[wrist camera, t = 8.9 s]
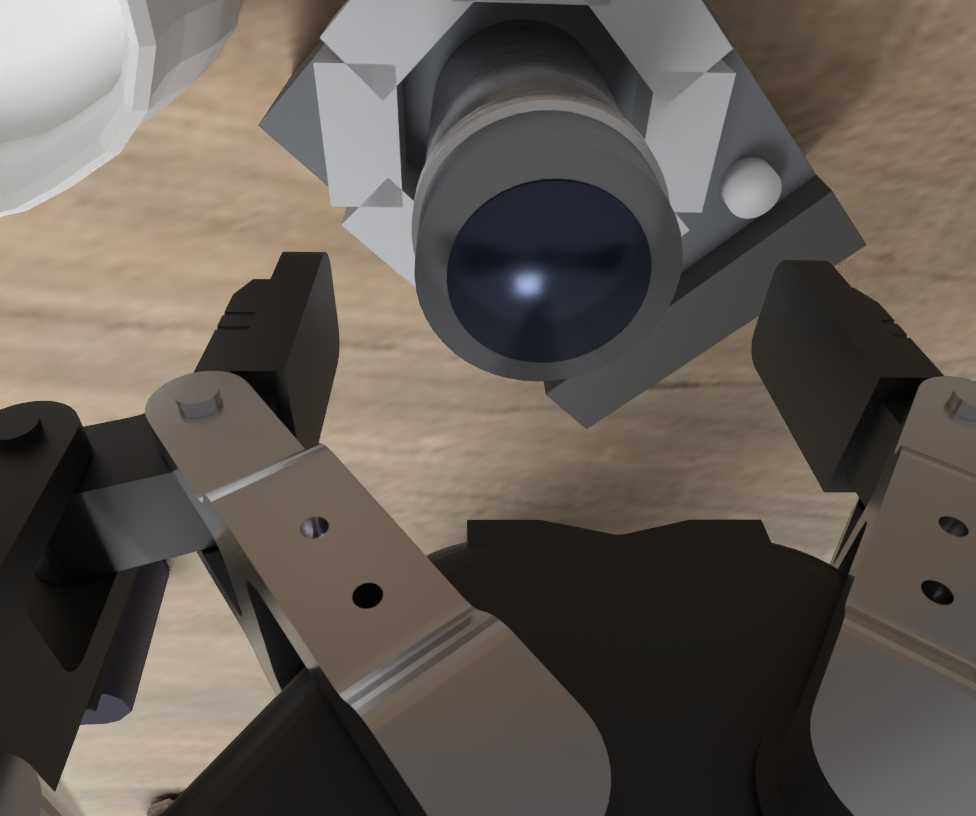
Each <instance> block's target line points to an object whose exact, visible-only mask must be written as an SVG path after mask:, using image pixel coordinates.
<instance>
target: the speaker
mask: <svg viewBox="0 0 976 816" xmlns="http://www.w3.org/2000/svg"><path fill="white" fill-rule="evenodd" d="M168 577H169V571H168V570H167V568H166V566H165V564H164V562H163V560H160V561H156V562H152V563H149V564H145V565H141V566H139V567H138V570H137V572H136V575H135V578H134V581H133V583H132V586H131V589H130V591H129V594H128V597H127V599H126V602H125V605H124V608H123V610H122V613H121V616H120V618H119V621H118V624H117V626H116V629H115V632H114V634H113V637H112V640H111V643H110V645H109V648H108V651H107V653H106V656H105V659H104V661H103V664H102V667H101V669H100V672H99V675H98V678H97V680H96V683H95V686H94V688H93V691H92V694H91V696H90V699H89V702H88V705H87V707H86V710H85V713H84V715H83V718H82V721H81V723H80V725H85V724H106V723H110V722H115V721H119V720H121V719H122V718H123V717H125V716H126V715H127V714H129V713H130V712H131V711H132V709H133V705H134V702H135V698H136V694H137V691H138V687H139V683H140V680H141V676H142V672H143V669H144V665H145V661H146V658H147V654H148V650H149V647H150V643H151V639H152V636H153V632H154V628H155V625H156V621H157V617H158V613H159V610H160V606H161V602H162V599H163V595H164V591H165V588H166V584H167V580H168Z"/></svg>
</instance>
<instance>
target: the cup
mask: <svg viewBox="0 0 976 816" xmlns="http://www.w3.org/2000/svg"><path fill="white" fill-rule="evenodd" d="M240 4H241V0H0V217H1V216H6V215H10V214H15V213H20V212H24V211H27V210H29V209H31V208H33V207H35V206H37V205H39V204H40V203H42V202H44V201H46V200H48V199H50V198H52V197H54V196H55V195H57V194H59V193H61V192H63V191H65V190H67V189H69V188H70V187H71V186H73V185H74V184H76V183H77V182H79V181H80V180H82V179H83V178H85V177H86V176H87V175H89V174H90V173H92V172H93V171H95V170H96V169H98V168H99V167H101V166H102V165H103V164H105V163H106V162H108V161H109V160H111V159H112V158H114V157H115V156H117V155H118V154H119V153H121V151H122V149H123V148H124V146H125V145H126V143H127V142H128V140H129V139H130V137H131V136H132V134H133V133H134V131H135V130H136V128H137V127H138V126H139V125H140V124H142V123H144V122H146V121H147V120H149V119H151V118H152V117H154V116H156V115H157V114H158V113H159V112H161V111H162V110H163V109H164V108H165V107H166V106H167V105H169V104H170V103H171V102H172V101H173V100H174V99H175V98H176V97H178V96H179V95H180V94H181V93H182V92H183V91H184V90H186V89H187V88H188V87H189V86H190V85H191V84H192V83H193V82H195V81H196V80H197V79H198V78H199V77H200V76H201V75H202V74H203V73H204V72H205V71H206V70H207V69H208V68H209V67H210V66H211V65H212V64H213V63H214V62H215V61H216V60H217V58H218V56H219V55H220V53H221V51H222V50H223V48H224V46H225V45H226V43H227V41H228V39H229V38H230V36H231V34H232V33H233V31H234V29H235V28H236V26H237V22H238V16H239V10H240Z"/></svg>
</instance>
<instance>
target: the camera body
mask: <svg viewBox="0 0 976 816" xmlns="http://www.w3.org/2000/svg"><path fill="white" fill-rule="evenodd" d="M518 19H528V20H537V21H541V22H545V23H549V24H551V25H553V26H556V27H558V28H560V29H562V30H564V31H565V32H567V33H569V34H570V35H571V36H573V37H574V38H575V39H576V40H577V41H579V42H580V43H581V44H582V45H583V47H584V48H585V49H586V50H587V51H588V52H589V54H590V55H591V57H592V58H593V60H594V61H595V63H596V65H597V67H598V69H599V71H600V73H601V75H602V76H603V78H604V80H605V82H606V84H607V86H608V88H609V90H610V91H611V93H612V95H613V97H614V99H615V101H616V103H617V105H618V107H619V108H620V110H621V112H622V114H623V116H624V118H625V119H627V120H628V121H629V122H630V123H631V124H632V125H633V126H634V127H635V129H636V130H637V131H638V132H639V133H640V134H641V136H642V137H643V139H644V140H645V142H646V143H647V145H648V146H649V148H650V149H651V151H652V153H653V155H654V157H655V158H656V160H657V162H658V164H659V167H660V169H661V171H662V173H663V175H664V178H665V182H666V185H667V188H668V193H669V200H670V205H671V207H672V209H673V211H674V213H675V215H676V218H677V221H678V225H679V228H680V231H681V238H682V246H683V258H682V269H681V275H680V280H679V283H678V286H677V289H676V292H675V295H674V297H673V299H672V301H671V304H670V306H669V308H668V309H667V311H666V313H665V314H664V316H663V317H662V319H661V320H660V322H659V323H658V324H657V326H656V327H655V328H654V329H653V330H652V332H651V333H650V334H649V335H648V336H647V337H646V338H645V339H644V340H643V341H642V342H641V343H640V344H639V345H637V346H636V347H635V348H633V349H632V350H631V351H630V352H628V353H627V354H626V355H624V356H622V357H621V358H619V359H617V360H616V361H614V362H613V363H610V364H608V365H606V366H604V367H602V368H600V369H598V370H595V371H592V372H590V373H587V374H584V375H580V376H576V377H572V378H568V379H561V380H554V381H544V385H545V392H546V395H547V396H548V397H550V398H551V399H552V400H553V401H554V402H556V403H557V404H558V405H559V406H560V407H561V408H563V409H564V410H565V411H566V412H567V413H568V414H570V415H571V416H572V417H573V418H574V419H575V420H577V421H578V422H579V423H580V424H581V425H582V426H584V427H585V428H586V429H587V428H589V427H590V426H592V425H593V424H595V423H596V422H598V421H599V420H601V419H603V418H604V417H606V416H607V415H609V414H610V413H612V412H613V411H615V410H616V409H618V408H619V407H621V406H622V405H624V404H625V403H627V402H628V401H630V400H631V399H633V398H634V397H636V396H637V395H639V394H641V393H642V392H644V391H645V390H647V389H648V388H650V387H651V386H653V385H654V384H656V383H657V382H659V381H660V380H662V379H663V378H665V377H666V376H668V375H669V374H671V373H672V372H674V371H675V370H677V369H679V368H680V367H682V366H683V365H685V364H686V363H688V362H689V361H691V360H692V359H694V358H695V357H697V356H698V355H700V354H701V353H703V352H704V351H706V350H707V349H709V348H710V347H712V346H713V345H715V344H717V343H718V342H720V341H721V340H723V339H724V338H726V337H727V336H729V335H730V334H732V333H733V332H735V331H736V330H738V329H739V328H741V327H742V326H744V325H745V324H747V323H748V322H750V321H751V320H753V319H755V318H756V317H758V316H759V315H760V313H761V310H762V307H763V303H764V300H765V297H766V294H767V291H768V288H769V285H770V282H771V279H772V276H773V273H774V271H775V269H776V267H777V266H778V264H779V263H780V262H781V261H783V260H824V261H828V262H830V263H831V264H832V265H833V266H835V265H837V264H838V263H840V262H841V261H843V260H844V259H846V258H847V257H849V256H850V255H852V254H853V253H855V252H856V251H858V250H859V249H861V248H862V247H864V246H865V245H866V243H865V242H864V240H863V239H862V237H861V236H860V234H859V232H858V231H857V229H856V228H855V226H854V225H853V223H852V221H851V220H850V218H849V217H848V215H847V213H846V212H845V210H844V209H843V207H842V206H841V204H840V202H839V201H838V199H837V198H836V196H835V195H834V193H833V191H832V190H831V189H830V188H829V187H828V186H827V185H826V184H825V183H824V182H823V181H822V180H821V179H820V178H819V177H818V176H817V175H816V174H815V172H814V170H813V169H812V167H811V166H810V164H809V163H808V161H807V160H806V158H805V156H804V155H803V153H802V152H801V150H800V149H799V147H798V145H797V144H796V142H795V141H794V139H793V138H792V136H791V135H790V133H789V131H788V130H787V128H786V127H785V125H784V124H783V122H782V120H781V119H780V117H779V116H778V114H777V113H776V111H775V110H774V108H773V106H772V105H771V103H770V102H769V100H768V99H767V97H766V95H765V94H764V92H763V91H762V89H761V88H760V86H759V84H758V83H757V81H756V80H755V78H754V77H753V75H752V74H751V72H750V70H749V69H748V67H747V66H746V64H745V63H744V61H743V59H742V58H741V56H740V55H739V53H738V52H737V50H736V49H735V47H734V45H733V44H732V42H731V41H730V39H729V38H728V36H727V34H726V33H725V31H724V30H723V28H722V27H721V25H720V24H719V22H718V20H717V19H716V17H715V16H714V14H713V13H712V11H711V9H710V8H709V6H708V5H707V3H706V2H705V0H347V1H346V2H345V3H344V5H343V6H342V7H341V8H340V9H339V11H338V12H337V13H336V14H335V16H334V17H333V18H332V19H331V21H330V23H329V24H328V26H327V27H326V29H325V30H324V32H323V33H322V35H321V36H320V39H321V40H320V41H319V42H318V44H317V45H316V46H315V47H314V49H313V50H312V51H311V52H310V53H309V55H308V56H307V57H306V58H305V60H304V61H303V62H302V63H301V64H300V66H299V67H298V68H297V69H296V71H295V72H294V73H293V74H292V76H291V77H290V79H289V80H288V82H287V83H286V85H285V86H284V88H283V89H282V91H281V92H280V94H279V95H278V97H277V98H276V100H275V101H274V103H273V104H272V106H271V107H270V109H269V110H268V112H267V113H266V115H265V116H264V118H263V119H262V121H261V122H260V124H259V125H258V126H260V127H261V128H262V129H263V130H264V131H265V132H266V133H268V134H269V135H270V136H271V137H272V138H273V139H274V140H276V141H277V142H278V143H279V144H280V145H281V146H282V147H284V148H285V149H286V150H287V151H288V152H289V153H291V154H292V155H293V156H294V157H295V158H296V159H297V160H299V161H300V162H301V163H302V164H303V165H304V166H305V167H307V168H308V169H309V170H310V171H311V172H312V173H313V174H315V175H316V176H317V177H318V178H319V179H320V180H321V181H323V182H324V183H325V184H326V185H327V186H328V187H329V194H330V202H331V206H339V207H347V208H346V211H345V215H344V218H343V221H342V226H343V227H344V228H346V229H347V230H348V231H349V232H350V233H351V234H353V235H354V236H355V237H356V238H357V239H359V240H360V241H361V242H362V243H363V244H364V245H366V246H367V247H368V248H369V249H370V250H372V251H373V252H374V253H375V254H376V255H377V256H379V257H380V258H381V259H382V260H383V261H384V262H386V263H387V264H388V265H389V266H390V267H392V268H393V269H394V270H395V271H396V272H397V273H399V274H400V275H401V276H402V277H403V278H404V279H406V280H407V281H408V282H409V283H410V284H412V285H413V286H414V287H415V288H416V284H415V276H414V274H415V254H414V251H413V243H412V235H411V232H412V213H413V206H414V199H415V193H416V188H417V184H418V181H419V178H420V175H421V172H422V170H423V168H424V166H425V163H426V154H427V145H428V136H429V126H430V117H431V108H432V101H433V95H434V90H435V87H436V83H437V80H438V78H439V76H440V73H441V71H442V69H443V67H444V66H445V64H446V62H447V61H448V59H449V58H450V56H451V55H452V54H453V53H454V51H455V50H456V49H457V48H458V47H459V46H460V45H461V44H462V43H463V42H464V41H465V40H466V39H468V38H469V37H471V36H472V35H473V34H475V33H476V32H478V31H480V30H482V29H484V28H486V27H488V26H490V25H493V24H496V23H499V22H503V21H508V20H518Z"/></svg>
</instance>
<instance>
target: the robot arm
mask: <svg viewBox="0 0 976 816" xmlns="http://www.w3.org/2000/svg"><path fill="white" fill-rule="evenodd" d="M217 327H218V329H217V330H215V332H214V334H213V336H212V338H211V340H210V342H209V343H208V345H207V347H206V349H205V351H204V353H203V355H202V357H201V359H200V361H199V363H198V365H197V367H196V369H195V371H194V373H191V374H187V375H184V376H181V377H178V378H176V379H174V380H172V381H170V382H168V383H166V384H164V385H163V386H162V387H160V388H159V389H158V390H157V391H155V392H154V393H153V394H152V396H151V397H150V398H149V400H148V402H147V404H146V408H145V413H144V414H141V415H138V416H134V417H130V418H125V419H120V420H115V421H110V422H105V423H100V424H95V425H90V426H85V427H83V426H82V424H81V421H80V419H79V417H78V415H77V413H76V412H75V410H73V409H72V408H71V407H69V406H67V405H66V404H63V403H59V402H53V401H33V402H26V403H21V404H17V405H13V406H10V407H7V408H4V409H1V410H0V816H74V814H73V813H72V811H71V810H70V809H69V808H68V807H67V805H65V803H64V802H63V801H62V800H61V799H60V798H59V796H58V795H57V794H56V793H55V791H56V788H57V785H58V783H59V780H60V777H61V775H62V772H63V769H64V766H65V764H66V761H67V758H68V756H69V753H70V750H71V748H72V745H73V742H74V740H75V737H76V734H77V731H78V729H79V726H80V723H81V721H82V718H83V715H84V713H85V710H86V707H87V705H88V702H89V699H90V696H91V694H92V691H93V688H94V686H95V683H96V680H97V678H98V675H99V672H100V669H101V667H102V664H103V661H104V659H105V656H106V653H107V651H108V648H109V645H110V643H111V640H112V637H113V634H114V632H115V629H116V626H117V624H118V621H119V618H120V616H121V613H122V610H123V608H124V605H125V602H126V599H127V597H128V594H129V591H130V589H131V586H132V583H133V581H134V578H135V575H136V572H137V570H138V567H139V566H141V565H145V564H149V563H152V562H156V561H160V560H164V559H168V558H172V557H175V556H179V555H183V554H187V553H191V552H195V551H197V553H198V555H199V557H200V558H201V560H202V562H203V563H204V565H205V567H206V568H207V570H208V572H209V574H210V575H211V577H212V579H213V580H214V582H215V584H216V585H217V587H218V589H219V590H220V592H221V594H222V595H223V597H224V599H225V600H226V602H227V604H228V605H229V607H230V609H231V610H232V612H233V614H234V616H235V617H236V619H237V621H238V622H239V624H240V626H241V627H242V629H243V631H244V632H245V634H246V636H247V638H248V640H249V642H250V644H251V646H252V648H253V650H254V652H255V654H256V657H257V659H258V661H259V663H260V665H261V667H262V670H263V672H264V674H265V676H266V678H267V679H268V681H269V683H270V685H271V687H272V689H273V691H274V692H275V694H276V697H275V698H274V699H273V700H272V701H271V702H270V703H269V704H268V705H267V706H266V707H265V708H264V709H263V710H262V711H261V712H260V714H259V715H258V716H257V717H256V718H255V719H254V720H253V721H252V722H251V723H250V724H249V725H248V726H247V727H246V728H245V729H244V730H243V731H242V732H241V733H240V734H239V735H238V736H237V737H236V738H235V739H234V740H233V741H232V742H231V743H230V744H229V745H228V746H227V747H226V748H225V749H224V750H223V751H222V752H221V754H220V755H219V756H218V757H217V758H216V759H215V760H214V761H213V762H212V763H211V764H210V765H209V766H208V767H207V768H206V769H205V770H204V771H203V772H202V773H201V774H200V775H199V776H198V777H197V778H196V779H195V780H194V781H193V782H192V783H191V784H190V785H189V786H188V787H187V788H186V789H185V790H184V791H183V792H182V794H181V795H180V796H179V797H178V798H177V799H176V800H175V801H174V802H173V803H172V804H171V805H170V806H169V807H168V808H167V809H166V810H165V811H164V812H163V813H162V814H161V815H160V816H976V382H975V381H972V380H968V379H963V378H958V377H949V376H944V375H943V374H942V373H941V372H940V371H939V370H938V368H937V367H936V366H935V365H934V364H933V363H932V362H931V361H930V360H929V358H928V357H927V356H926V355H925V354H924V353H923V352H922V351H921V350H920V348H919V347H918V346H917V345H916V344H915V343H914V342H913V341H912V340H911V338H907V337H906V336H907V334H906V333H905V332H904V331H903V330H902V328H901V327H900V326H899V325H898V324H894V320H893V318H892V317H891V316H890V315H889V314H888V313H887V312H886V311H885V310H884V308H883V307H882V306H881V305H880V304H879V303H878V302H876V301H874V300H873V299H871V298H869V297H868V296H866V295H865V294H863V293H861V292H860V291H858V290H856V289H855V288H852V287H851V286H850V285H849V284H848V283H847V281H846V280H845V279H844V278H843V277H842V276H841V275H840V273H839V272H838V271H837V270H836V269H835V268H834V266H833V265H832V264H831V263H830V262H828V261H824V260H783V261H781V262H780V263H779V264H778V266H777V267H776V269H775V271H774V273H773V276H772V279H771V282H770V285H769V288H768V291H767V294H766V297H765V300H764V303H763V307H762V310H761V313H760V316H759V319H758V322H757V325H756V328H755V331H754V334H753V339H752V359H753V363H754V366H755V368H756V370H757V372H758V374H759V376H760V378H761V379H762V381H763V383H764V385H765V387H766V388H767V390H768V392H769V394H770V396H771V397H772V399H773V401H774V403H775V405H776V406H777V408H778V410H779V412H780V414H781V415H782V417H783V419H784V421H785V423H786V424H787V426H788V428H789V430H790V432H791V433H792V435H793V437H794V439H795V441H796V442H797V444H798V446H799V448H800V450H801V451H802V453H803V455H804V457H805V459H806V461H807V462H808V464H809V466H810V468H811V470H812V471H813V473H814V475H815V477H816V479H817V480H818V482H819V484H820V486H821V488H822V489H823V491H824V492H856V493H857V494H858V496H859V499H858V500H857V502H856V504H855V506H854V508H853V510H852V511H851V513H850V516H849V518H848V521H847V523H846V526H845V528H844V530H843V533H842V535H841V538H840V540H839V543H838V545H837V548H836V550H835V552H834V555H833V557H832V560H831V562H830V564H828V563H826V562H824V561H822V560H820V559H818V558H816V557H814V556H811V555H809V554H806V553H804V552H801V551H798V550H796V549H792V548H789V547H786V546H782V545H779V544H774V543H771V541H770V539H769V537H768V534H767V532H766V530H765V527H764V525H763V523H762V521H761V520H687V521H682V522H678V523H673V524H669V525H664V526H660V527H655V528H651V529H646V530H642V531H637V532H633V533H628V534H623V535H615V534H608V533H603V532H598V531H593V530H588V529H583V528H578V527H573V526H568V525H563V524H558V523H553V522H548V521H543V520H467V542H465V543H461V544H457V545H453V546H450V547H447V548H444V549H441V550H438V551H436V552H433V553H431V554H429V555H427V556H425V554H424V553H423V552H422V551H421V550H420V549H419V548H418V547H417V546H416V544H415V543H414V542H413V541H412V540H411V539H410V538H409V537H408V536H407V534H406V533H405V532H404V531H403V530H402V529H401V528H400V527H399V526H398V524H397V523H396V522H395V521H394V520H393V519H392V518H391V517H390V516H389V514H388V513H387V512H386V511H385V510H384V509H383V508H382V507H381V506H380V504H379V503H378V502H377V501H376V500H375V499H374V498H373V497H372V496H371V494H370V493H369V492H368V491H367V490H366V489H365V488H364V487H363V486H362V484H361V483H360V482H359V481H358V480H357V479H356V478H355V477H354V476H353V474H352V473H351V472H350V471H349V470H348V469H347V468H346V467H345V466H344V464H343V463H342V462H341V461H340V460H339V459H338V458H337V457H336V456H335V454H334V453H333V452H332V451H331V450H330V449H329V448H328V447H326V446H325V445H323V444H320V443H319V439H320V435H321V431H322V426H323V422H324V418H325V414H326V410H327V406H328V401H329V397H330V393H331V389H332V385H333V381H334V377H335V372H336V368H337V364H338V358H339V328H338V320H337V312H336V304H335V296H334V289H333V281H332V273H331V266H330V260H329V257H328V254H327V253H326V252H283V253H282V254H281V256H280V259H279V261H278V263H277V265H276V268H275V270H274V272H273V274H272V277H271V279H253V280H252V281H250V282H249V283H248V284H246V285H245V286H244V287H242V288H241V289H240V290H238V291H237V292H236V293H235V294H233V296H232V298H231V300H230V302H229V304H228V306H227V308H226V310H225V315H223V316H222V318H221V320H220V322H219V324H218V326H217Z"/></svg>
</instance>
